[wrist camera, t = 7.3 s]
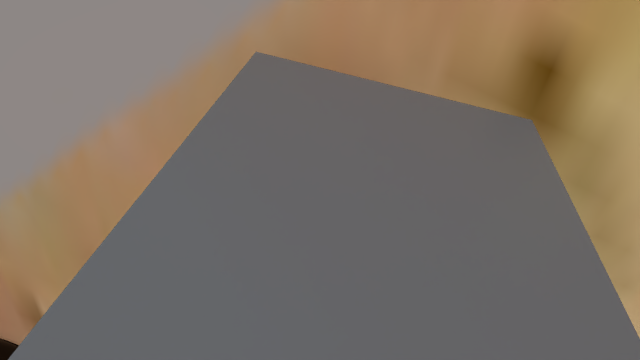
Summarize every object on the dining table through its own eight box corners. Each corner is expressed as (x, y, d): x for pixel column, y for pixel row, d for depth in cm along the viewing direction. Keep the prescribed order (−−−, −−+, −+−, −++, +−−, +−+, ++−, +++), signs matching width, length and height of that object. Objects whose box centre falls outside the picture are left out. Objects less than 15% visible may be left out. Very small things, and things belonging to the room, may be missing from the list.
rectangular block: (531, 120, 11) (754, 571, 4) (417, 344, 16) (426, 727, 9) (255, 51, 11) (-4, 375, 4) (226, 294, 16) (83, 634, 9)
